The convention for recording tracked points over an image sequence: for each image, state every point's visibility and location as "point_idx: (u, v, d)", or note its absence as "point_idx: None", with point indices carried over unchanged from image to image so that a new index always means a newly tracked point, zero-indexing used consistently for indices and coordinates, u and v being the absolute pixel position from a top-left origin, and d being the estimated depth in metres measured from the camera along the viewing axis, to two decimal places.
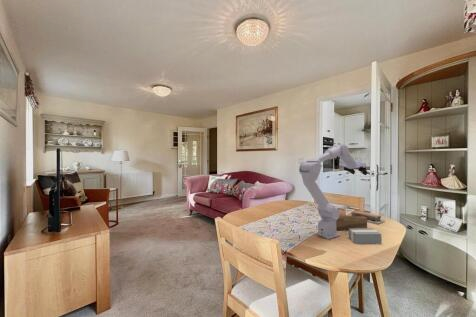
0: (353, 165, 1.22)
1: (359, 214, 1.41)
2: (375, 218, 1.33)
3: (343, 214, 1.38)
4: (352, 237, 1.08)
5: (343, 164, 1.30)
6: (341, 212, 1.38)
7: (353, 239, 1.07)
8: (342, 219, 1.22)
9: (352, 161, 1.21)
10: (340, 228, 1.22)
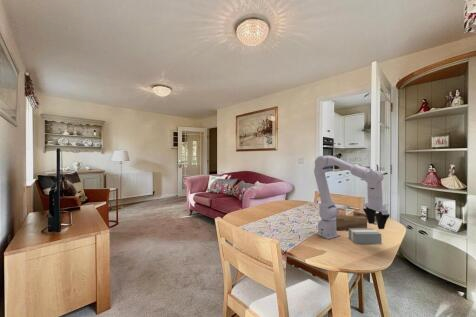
0: (374, 205, 0.95)
1: (360, 213, 1.42)
2: None
3: (343, 214, 1.38)
4: (352, 237, 1.08)
5: (367, 204, 1.03)
6: (341, 212, 1.38)
7: (353, 239, 1.07)
8: (342, 219, 1.22)
9: (376, 199, 0.95)
10: (340, 228, 1.22)
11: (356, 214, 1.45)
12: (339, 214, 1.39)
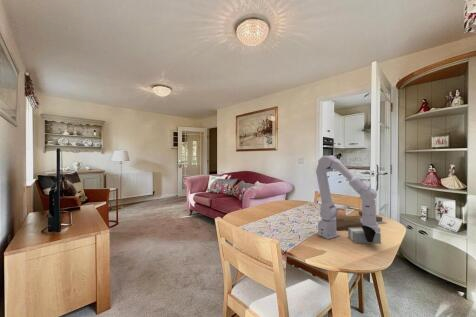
0: (367, 222, 1.00)
1: None
2: None
3: (343, 214, 1.38)
4: (351, 236, 1.08)
5: None
6: (341, 212, 1.38)
7: (352, 238, 1.07)
8: (342, 219, 1.22)
9: (370, 217, 1.00)
10: (340, 228, 1.22)
11: (360, 213, 1.46)
12: (339, 214, 1.39)
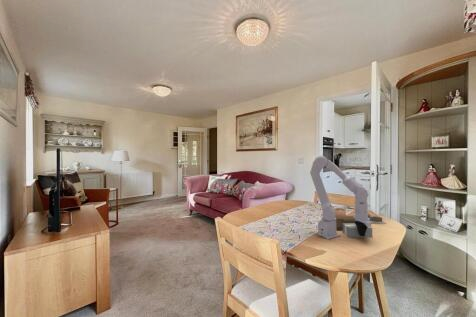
0: (360, 217, 1.08)
1: None
2: (370, 217, 1.34)
3: (343, 214, 1.38)
4: (345, 231, 1.16)
5: None
6: (341, 212, 1.38)
7: (346, 233, 1.15)
8: (342, 219, 1.22)
9: (362, 212, 1.07)
10: (340, 228, 1.22)
11: None
12: (339, 214, 1.39)
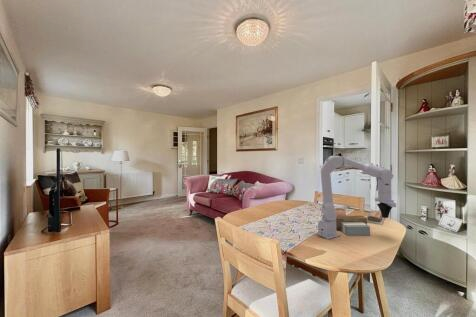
0: (383, 199, 1.08)
1: (370, 212, 1.43)
2: (368, 217, 1.36)
3: (343, 214, 1.38)
4: (344, 230, 1.18)
5: (377, 198, 1.16)
6: (341, 212, 1.38)
7: (344, 231, 1.17)
8: (342, 219, 1.22)
9: (386, 194, 1.07)
10: (340, 228, 1.22)
11: None
12: (339, 214, 1.39)
